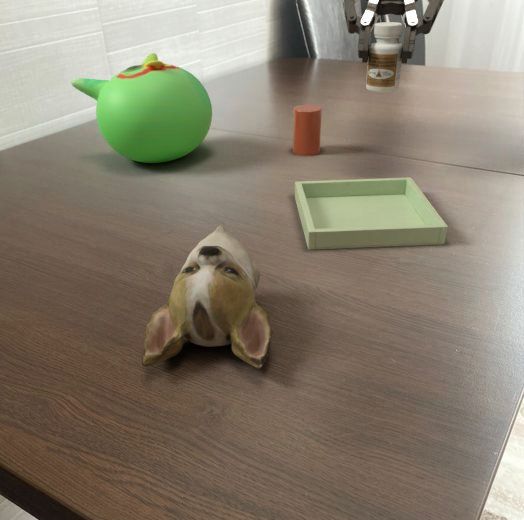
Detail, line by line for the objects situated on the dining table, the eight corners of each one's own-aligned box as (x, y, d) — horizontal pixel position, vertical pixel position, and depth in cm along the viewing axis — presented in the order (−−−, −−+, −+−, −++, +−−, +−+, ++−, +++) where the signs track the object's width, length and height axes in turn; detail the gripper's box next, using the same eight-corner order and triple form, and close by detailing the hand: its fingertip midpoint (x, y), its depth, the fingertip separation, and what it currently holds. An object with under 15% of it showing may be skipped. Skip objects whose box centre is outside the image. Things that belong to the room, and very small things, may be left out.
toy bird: (147, 186, 80) (130, 74, 71) (82, 161, 89) (60, 60, 80) (234, 155, 90) (230, 54, 81) (168, 136, 99) (157, 44, 91)
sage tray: (408, 195, 75) (411, 177, 74) (444, 247, 63) (448, 226, 61) (294, 199, 75) (294, 181, 73) (308, 252, 63) (308, 231, 61)
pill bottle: (362, 92, 74) (367, 25, 69) (369, 85, 77) (375, 21, 72) (395, 94, 73) (402, 26, 68) (401, 86, 76) (409, 21, 71)
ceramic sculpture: (277, 209, 50) (267, 306, 39) (278, 288, 56) (270, 394, 44) (162, 209, 51) (119, 304, 40) (175, 287, 57) (140, 390, 45)
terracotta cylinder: (317, 148, 92) (319, 104, 88) (321, 157, 89) (323, 111, 84) (291, 149, 92) (292, 105, 88) (294, 158, 89) (294, 112, 84)
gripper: (344, -85, 71) (327, 38, 69) (460, -88, 68) (447, 39, 66) (345, -36, 78) (330, 76, 76) (450, -38, 75) (438, 78, 73)
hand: (384, 58), depth 71 cm, fingers closed on pill bottle, 4 cm apart
